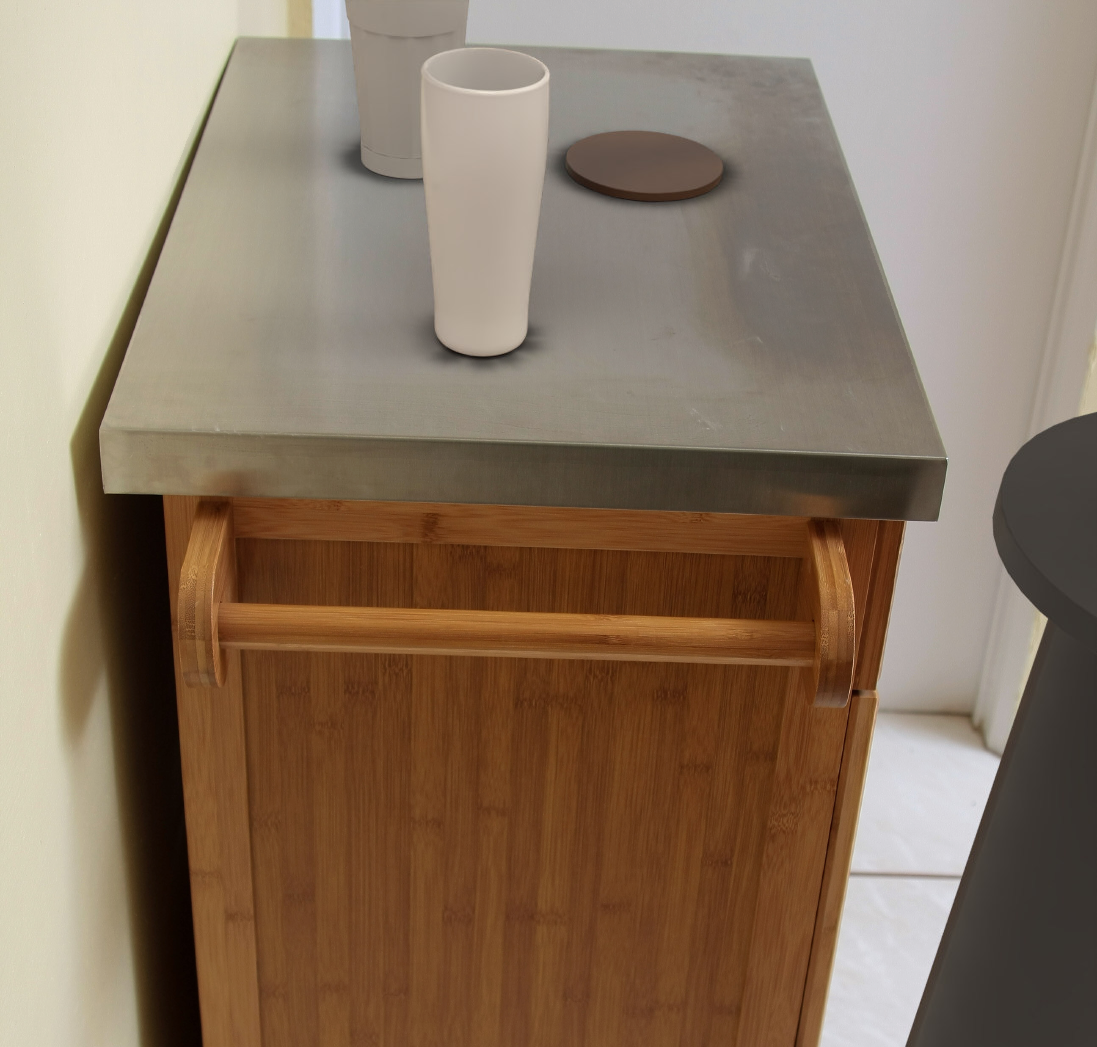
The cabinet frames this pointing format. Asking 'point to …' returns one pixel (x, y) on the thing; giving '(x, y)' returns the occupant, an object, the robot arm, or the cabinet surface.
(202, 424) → the cabinet surface
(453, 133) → the white tumbler
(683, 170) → the coaster
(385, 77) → the cup
